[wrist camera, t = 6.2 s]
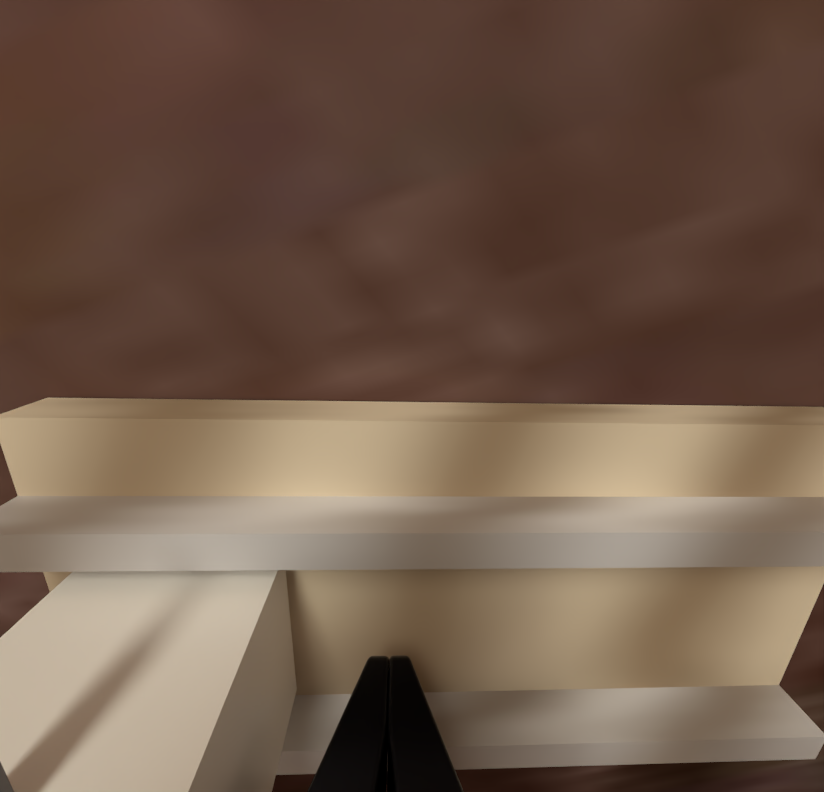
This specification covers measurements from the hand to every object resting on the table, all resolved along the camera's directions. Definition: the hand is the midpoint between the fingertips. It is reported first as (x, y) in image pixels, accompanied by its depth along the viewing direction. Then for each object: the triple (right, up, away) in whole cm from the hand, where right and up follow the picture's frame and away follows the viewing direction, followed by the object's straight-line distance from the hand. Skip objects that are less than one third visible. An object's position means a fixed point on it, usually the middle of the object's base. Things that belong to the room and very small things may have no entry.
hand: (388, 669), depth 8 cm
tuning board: (+1, +1, +2) cm, 3 cm away
